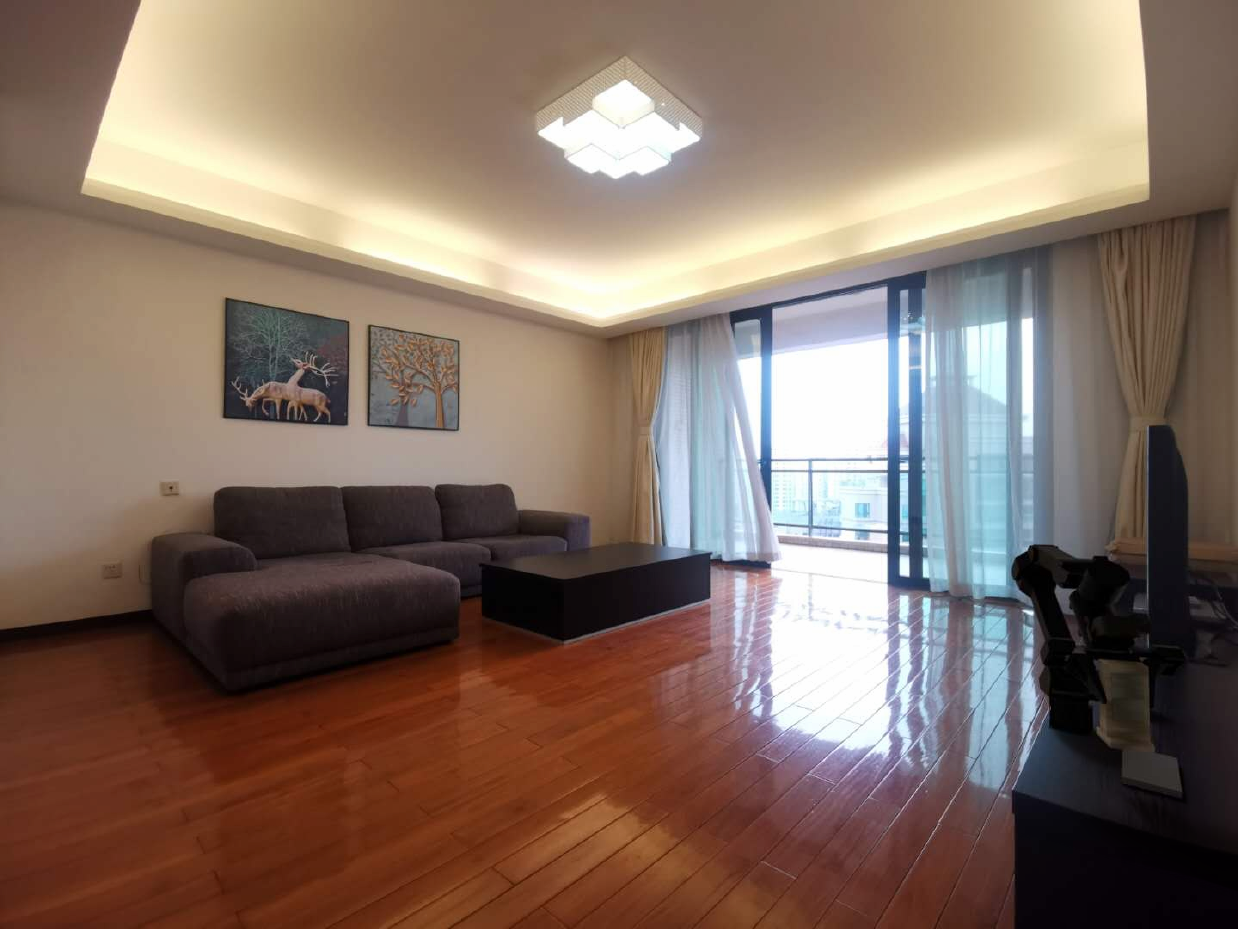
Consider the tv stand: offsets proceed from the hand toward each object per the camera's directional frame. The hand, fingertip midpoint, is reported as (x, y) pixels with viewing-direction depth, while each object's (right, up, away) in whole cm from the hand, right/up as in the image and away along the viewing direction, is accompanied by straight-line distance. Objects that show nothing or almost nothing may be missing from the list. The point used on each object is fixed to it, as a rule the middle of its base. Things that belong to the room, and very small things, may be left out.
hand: (1128, 705), depth 91 cm
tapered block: (+1, -7, +1) cm, 7 cm away
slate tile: (+8, -13, +4) cm, 16 cm away
